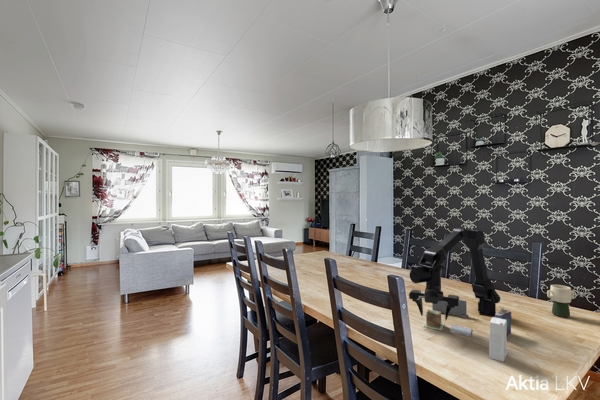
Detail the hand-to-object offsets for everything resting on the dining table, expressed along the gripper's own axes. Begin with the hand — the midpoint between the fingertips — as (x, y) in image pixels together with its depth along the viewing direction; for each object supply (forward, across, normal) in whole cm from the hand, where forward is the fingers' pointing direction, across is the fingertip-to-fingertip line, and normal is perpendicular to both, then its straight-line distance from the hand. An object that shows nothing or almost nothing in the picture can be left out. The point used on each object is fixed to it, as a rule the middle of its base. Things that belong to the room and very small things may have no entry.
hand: (433, 317), depth 125 cm
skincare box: (+3, +22, -16) cm, 27 cm away
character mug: (+4, +47, +41) cm, 62 cm away
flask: (+4, +24, +4) cm, 25 cm away
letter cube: (+3, 0, 0) cm, 3 cm away
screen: (+3, +4, +18) cm, 19 cm away
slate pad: (+3, +10, 0) cm, 10 cm away
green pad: (+3, 0, 0) cm, 3 cm away
